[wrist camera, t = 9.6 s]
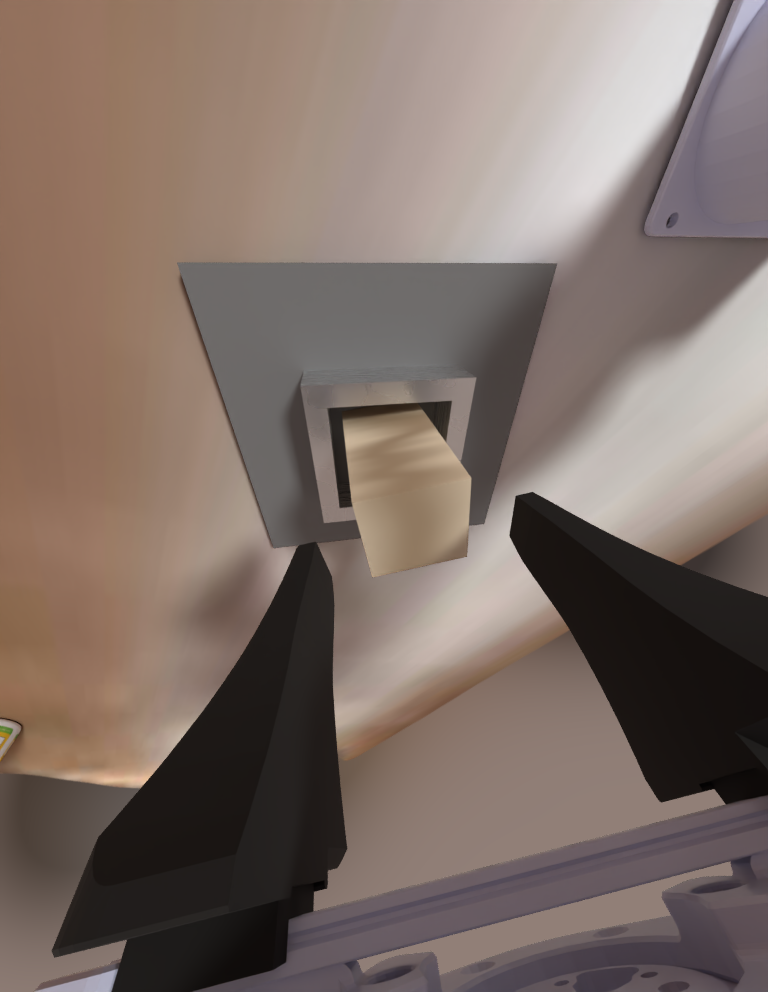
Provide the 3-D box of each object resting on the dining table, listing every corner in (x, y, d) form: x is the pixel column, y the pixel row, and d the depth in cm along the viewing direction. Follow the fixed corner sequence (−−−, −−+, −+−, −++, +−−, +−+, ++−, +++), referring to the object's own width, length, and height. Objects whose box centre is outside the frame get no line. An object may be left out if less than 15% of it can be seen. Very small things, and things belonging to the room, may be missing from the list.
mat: (549, 263, 14) (557, 263, 13) (480, 518, 23) (483, 523, 23) (182, 263, 12) (176, 262, 11) (274, 542, 21) (273, 548, 21)
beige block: (413, 397, 16) (471, 477, 10) (418, 459, 18) (466, 556, 12) (341, 411, 16) (351, 503, 9) (356, 472, 18) (372, 577, 12)
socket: (456, 364, 15) (476, 377, 13) (439, 486, 20) (452, 509, 18) (303, 370, 14) (300, 385, 12) (324, 497, 19) (324, 523, 17)
